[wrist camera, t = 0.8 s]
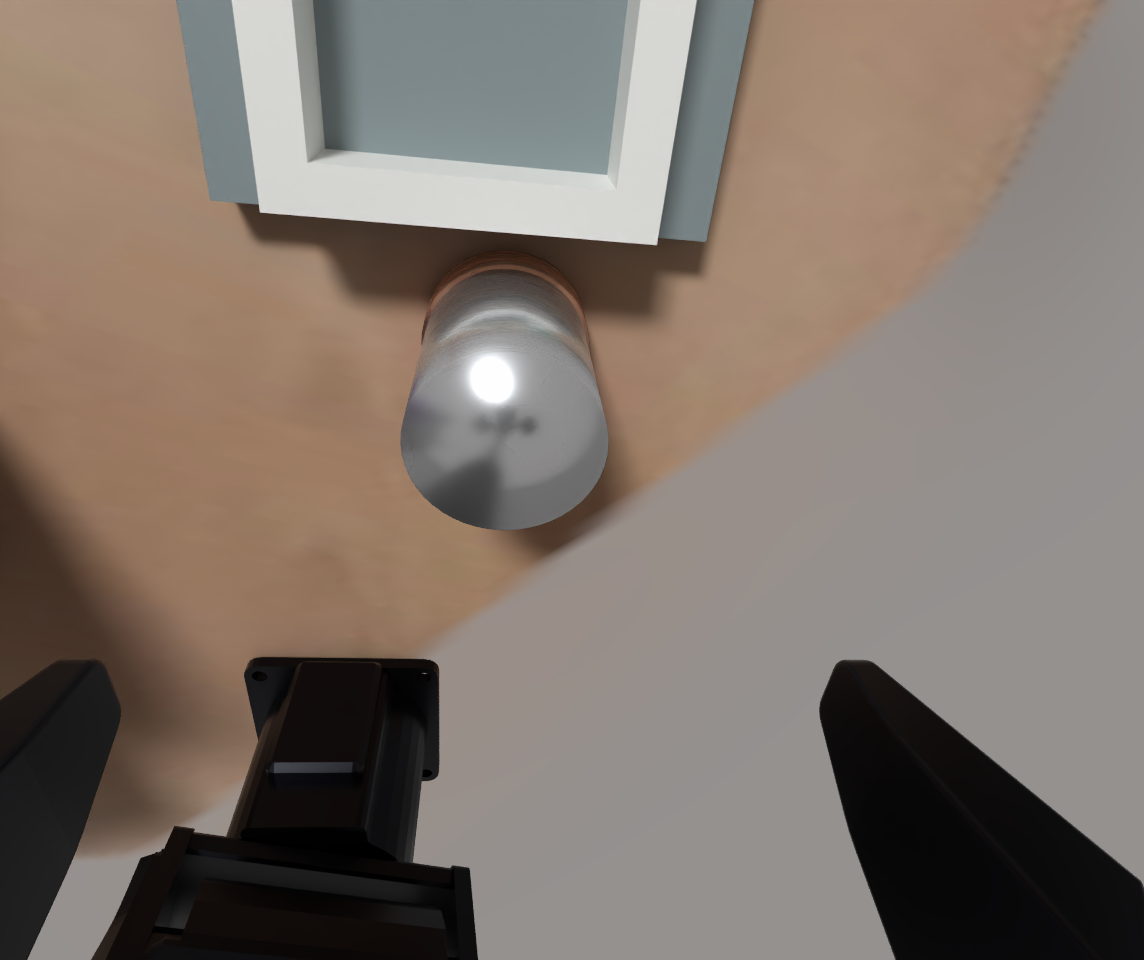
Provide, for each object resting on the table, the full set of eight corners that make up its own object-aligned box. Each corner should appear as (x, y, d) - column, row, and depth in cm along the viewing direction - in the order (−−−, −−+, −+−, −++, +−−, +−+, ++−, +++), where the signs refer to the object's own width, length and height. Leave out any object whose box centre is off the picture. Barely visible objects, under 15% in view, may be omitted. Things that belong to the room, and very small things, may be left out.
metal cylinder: (576, 405, 20) (599, 535, 15) (427, 396, 20) (399, 529, 15) (593, 257, 18) (627, 355, 13) (425, 243, 17) (392, 340, 12)
